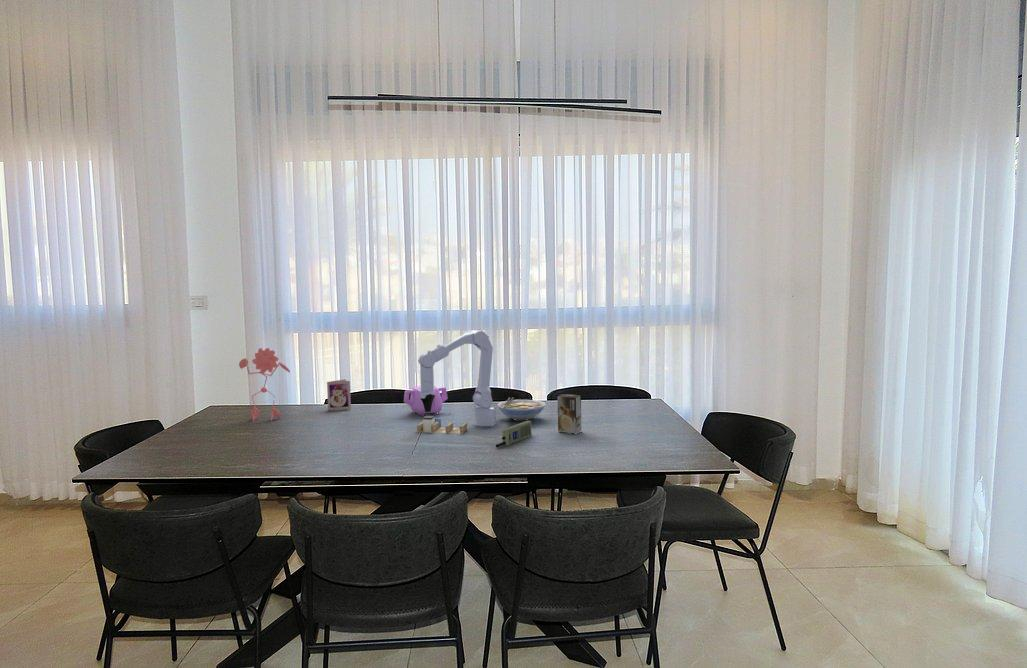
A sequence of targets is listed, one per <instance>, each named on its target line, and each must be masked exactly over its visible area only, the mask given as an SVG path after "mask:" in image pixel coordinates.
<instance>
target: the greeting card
mask: <svg viewBox="0 0 1027 668" xmlns="http://www.w3.org/2000/svg"><path fill="white" fill-rule="evenodd" d="M346 379H347V378H346ZM346 379H339V380H337V379H336V380H331V381H326V390H327V391H326V393H327V411H329V410H330V411H343V410H345V409H347V410H351V409H352V407H351V406H352V405H351V404H352V403H351V380H346ZM330 411H329V412H330ZM345 411H346V410H345Z"/></svg>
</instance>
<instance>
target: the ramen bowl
mask: <svg viewBox="0 0 1027 668" xmlns="http://www.w3.org/2000/svg"><path fill="white" fill-rule="evenodd" d="M497 406H498V408H499V411H500V412H501V413H502V414H503V415H504V416H506V417H507V418H509V419H513V420H514V419H516V420H515V421H517V420H526V419H529V420H531V419H532V418H535V417H537V416H538V415H539V414H541V412H542V411H543V410H544V409H545V407H546V403H545V402H543V401H541V400H536V399H535V400H534V399H515V397H510V396H509V397H508V399H507V400H505V401H500V402H498V403H497ZM526 421H527V420H526Z"/></svg>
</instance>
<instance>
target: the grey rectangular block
mask: <svg viewBox="0 0 1027 668" xmlns="http://www.w3.org/2000/svg"><path fill="white" fill-rule="evenodd" d="M435 418H436V417H435V416H434V415H424V416H423V417H422V419H423V420H422V422H423V431H431V426H432V425H433V424H434V423H435Z"/></svg>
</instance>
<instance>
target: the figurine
mask: <svg viewBox="0 0 1027 668" xmlns="http://www.w3.org/2000/svg"><path fill="white" fill-rule="evenodd" d="M270 349H271V348H269V347H266V348H265V349H264V350H263V348H262V347H259V348H258V350H257V352H255V353H254V358H253V359H252V360H251V361H252V363H253V364H254V365H255V369H256V370H260V371H257V372H250V370H249V365H248V364H249V361H248V359H247V358H246V357H245V358H242V359H241V360H240V361H239V363H238V366H239V369H240V370H242V369H244V368H245V367H246V369H247V370H246V371H247V373H248V375H254V374H261V375H263V376H264V377H265V380H264V384H263V385H264V386H262V387H261V389H260V391H258V392H256V393H255V394H253V395H251V399H252V403H253V408H252V409H251V411H250V414H251V417H252V422H254V421H255V420H256V418H258V417H259V416H260V415H259V414H260V410H259V408H257V407H256V406H255V401H254V396H256V395H257V394H259V393H266V392H267V393H269V394H270V395H272V396H273V397H275V395H274V393H272V392H270V391H269V390H268V389H267V387H266V383H267V380H268V377H272V376H273V375H274V372H275V371H276V370H277V369H278V367H281V368H282V369H283V370H285V371H286V372H287V373H289V374H290V373H291V370H290V369H289V368H288V367H287V366H286V365H285V364H283V363H282V362H278V361H279V357H278V356H277V355H275V354H276V352H275V350H273V349H272V350H270ZM277 362H278V364H277ZM267 371H268V373H270V374H268V373H266V372H267ZM272 402H273V405H272V406H273V407H272V408H270V412H271V418H270V421H271V422H273V417H274V416H275V417H276V418H278V419H281V417H282V416H281V415H282V414H281V413H280V411H279V410H277V408H275V401H272ZM283 421H285V419H284V420H283Z"/></svg>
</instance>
